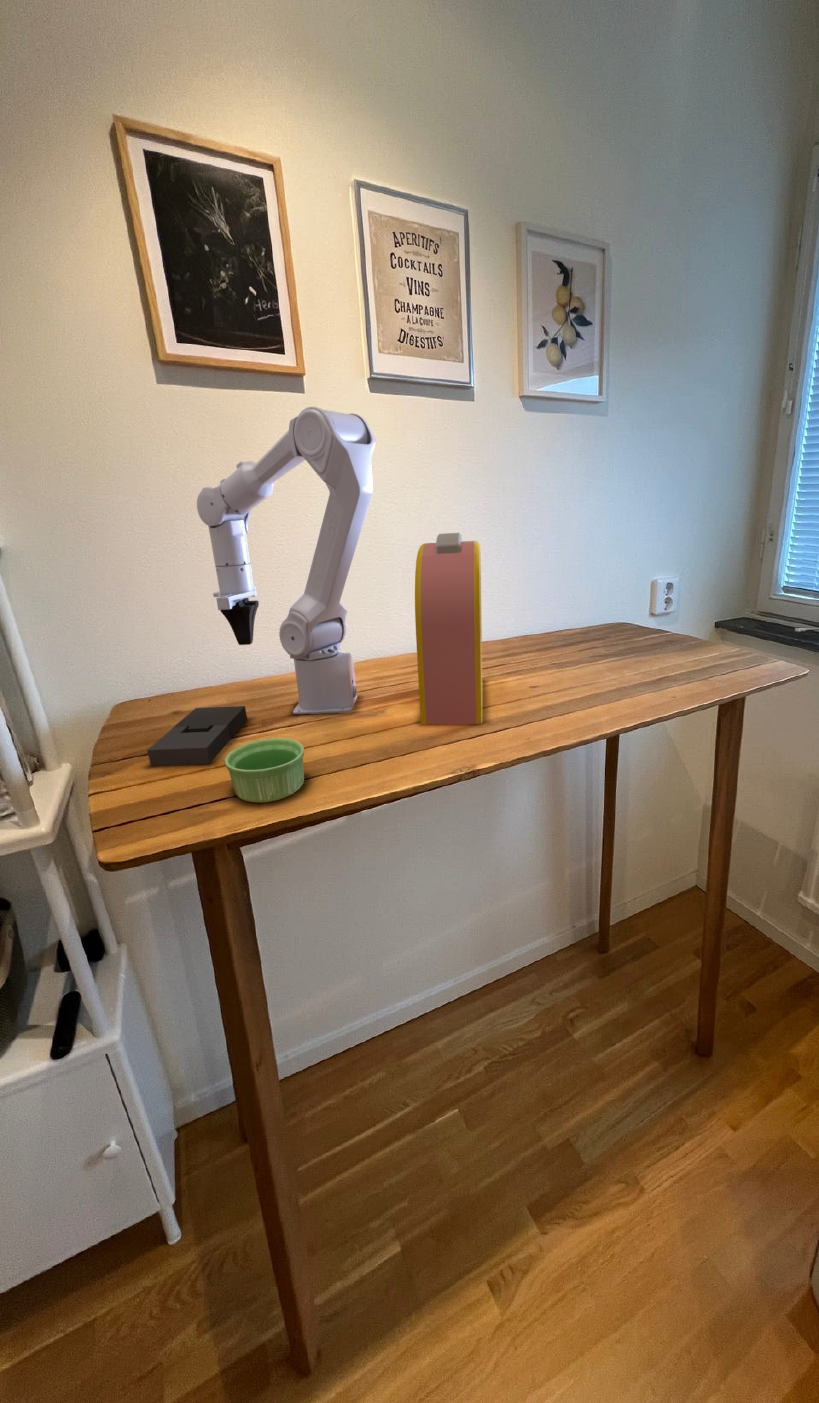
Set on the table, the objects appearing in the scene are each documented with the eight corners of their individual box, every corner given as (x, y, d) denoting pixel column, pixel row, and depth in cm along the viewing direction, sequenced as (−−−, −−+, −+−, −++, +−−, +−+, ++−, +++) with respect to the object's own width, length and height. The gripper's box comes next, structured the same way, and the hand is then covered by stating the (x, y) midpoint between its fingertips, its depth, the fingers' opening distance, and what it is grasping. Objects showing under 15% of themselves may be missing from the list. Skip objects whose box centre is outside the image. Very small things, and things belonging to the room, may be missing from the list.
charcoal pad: (230, 739, 80) (227, 724, 79) (209, 764, 72) (206, 747, 71) (176, 742, 80) (173, 726, 79) (150, 766, 72) (146, 749, 72)
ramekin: (269, 764, 71) (264, 733, 69) (324, 778, 66) (319, 744, 65) (214, 796, 64) (207, 761, 62) (271, 813, 59) (265, 776, 58)
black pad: (247, 719, 87) (245, 705, 86) (227, 742, 79) (225, 727, 78) (198, 721, 88) (195, 707, 87) (173, 744, 79) (170, 729, 78)
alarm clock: (482, 724, 80) (479, 535, 71) (420, 724, 81) (410, 538, 72) (482, 680, 99) (480, 528, 91) (432, 681, 101) (425, 531, 92)
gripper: (224, 562, 99) (237, 635, 103) (192, 570, 85) (207, 655, 90) (263, 559, 99) (273, 634, 103) (236, 568, 85) (250, 653, 89)
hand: (245, 643), depth 96 cm, fingers closed
